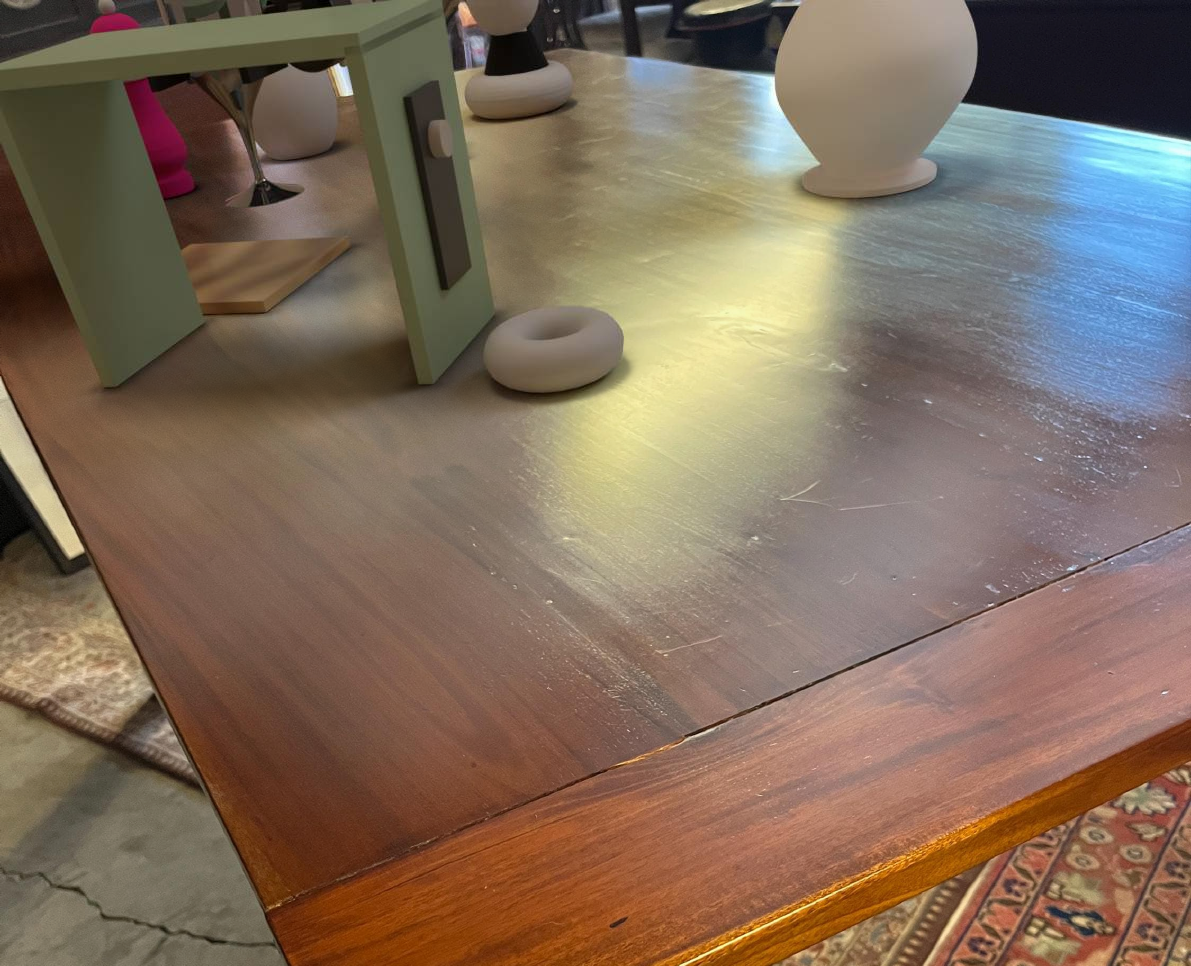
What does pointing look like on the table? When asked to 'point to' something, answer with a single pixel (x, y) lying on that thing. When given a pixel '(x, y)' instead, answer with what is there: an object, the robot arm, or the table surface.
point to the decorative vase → (873, 88)
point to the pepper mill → (150, 117)
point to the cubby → (136, 207)
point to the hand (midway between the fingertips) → (195, 68)
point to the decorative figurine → (514, 65)
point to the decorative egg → (295, 114)
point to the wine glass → (231, 93)
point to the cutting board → (255, 271)
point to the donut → (553, 349)
